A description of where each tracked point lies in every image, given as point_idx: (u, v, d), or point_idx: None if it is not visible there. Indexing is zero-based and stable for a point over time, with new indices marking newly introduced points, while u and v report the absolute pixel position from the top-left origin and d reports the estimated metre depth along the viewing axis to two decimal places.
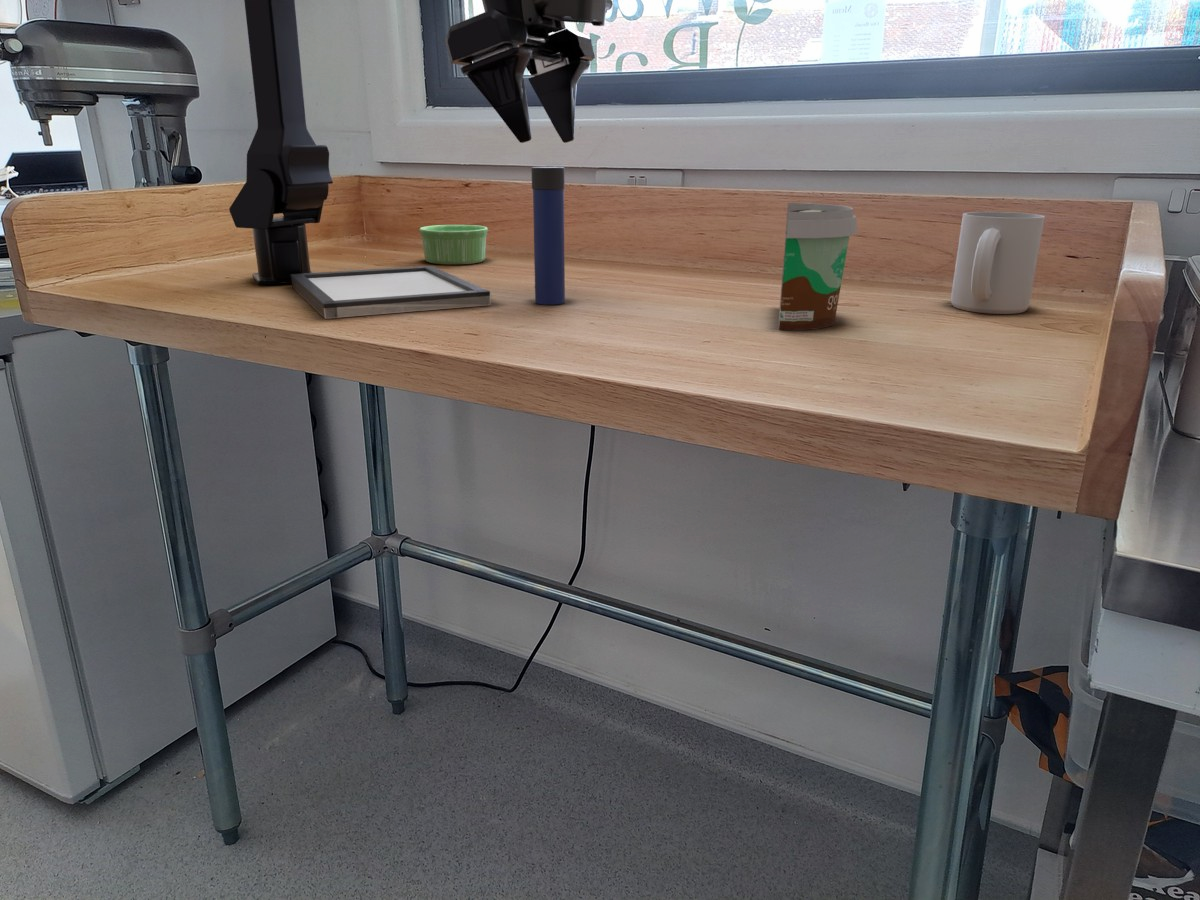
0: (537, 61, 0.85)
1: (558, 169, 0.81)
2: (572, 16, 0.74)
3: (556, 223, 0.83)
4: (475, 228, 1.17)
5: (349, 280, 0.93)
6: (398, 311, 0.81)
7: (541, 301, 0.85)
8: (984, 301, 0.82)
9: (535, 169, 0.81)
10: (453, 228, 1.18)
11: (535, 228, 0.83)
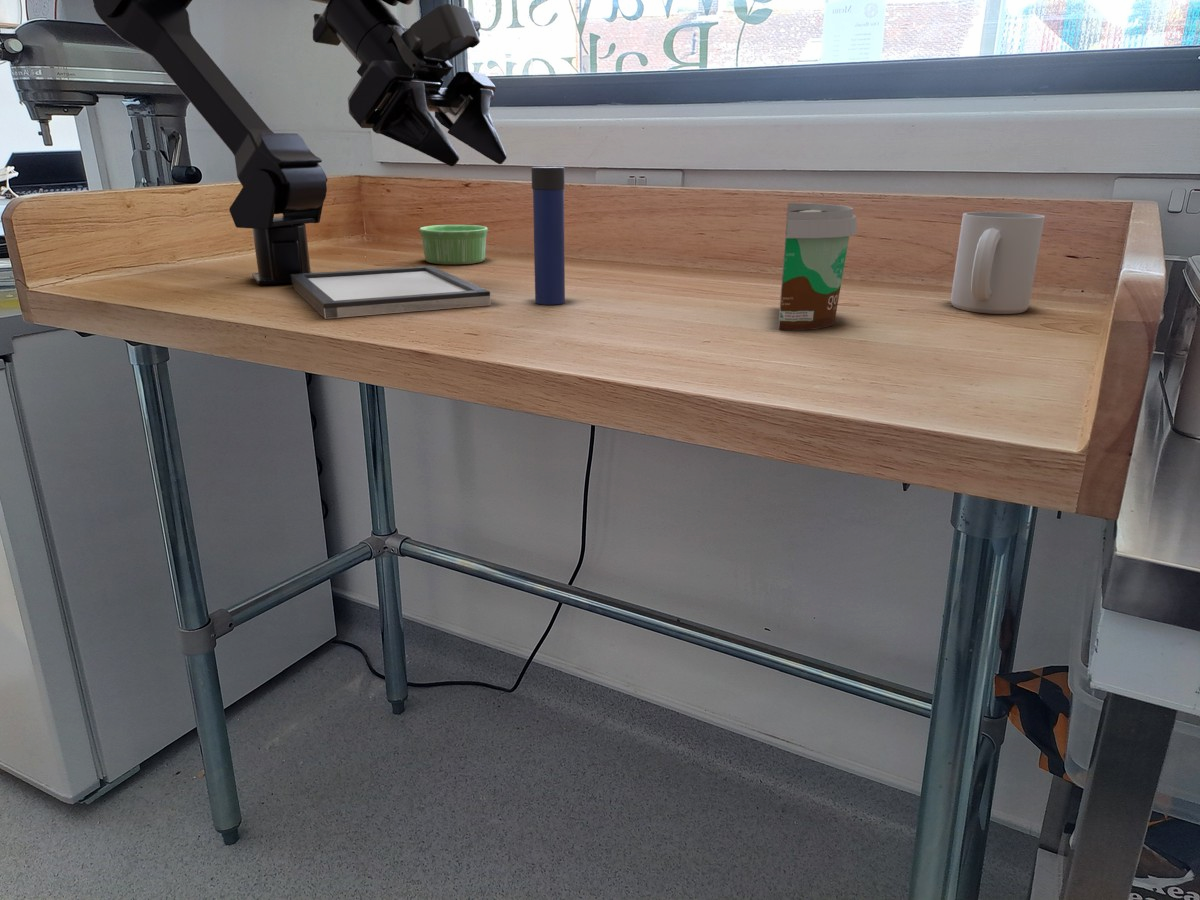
0: (448, 114, 0.90)
1: (558, 169, 0.81)
2: (445, 40, 0.80)
3: (556, 223, 0.83)
4: (475, 228, 1.17)
5: (349, 280, 0.93)
6: (398, 311, 0.81)
7: (541, 301, 0.85)
8: (984, 301, 0.82)
9: (535, 169, 0.81)
10: (453, 228, 1.18)
11: (535, 228, 0.83)
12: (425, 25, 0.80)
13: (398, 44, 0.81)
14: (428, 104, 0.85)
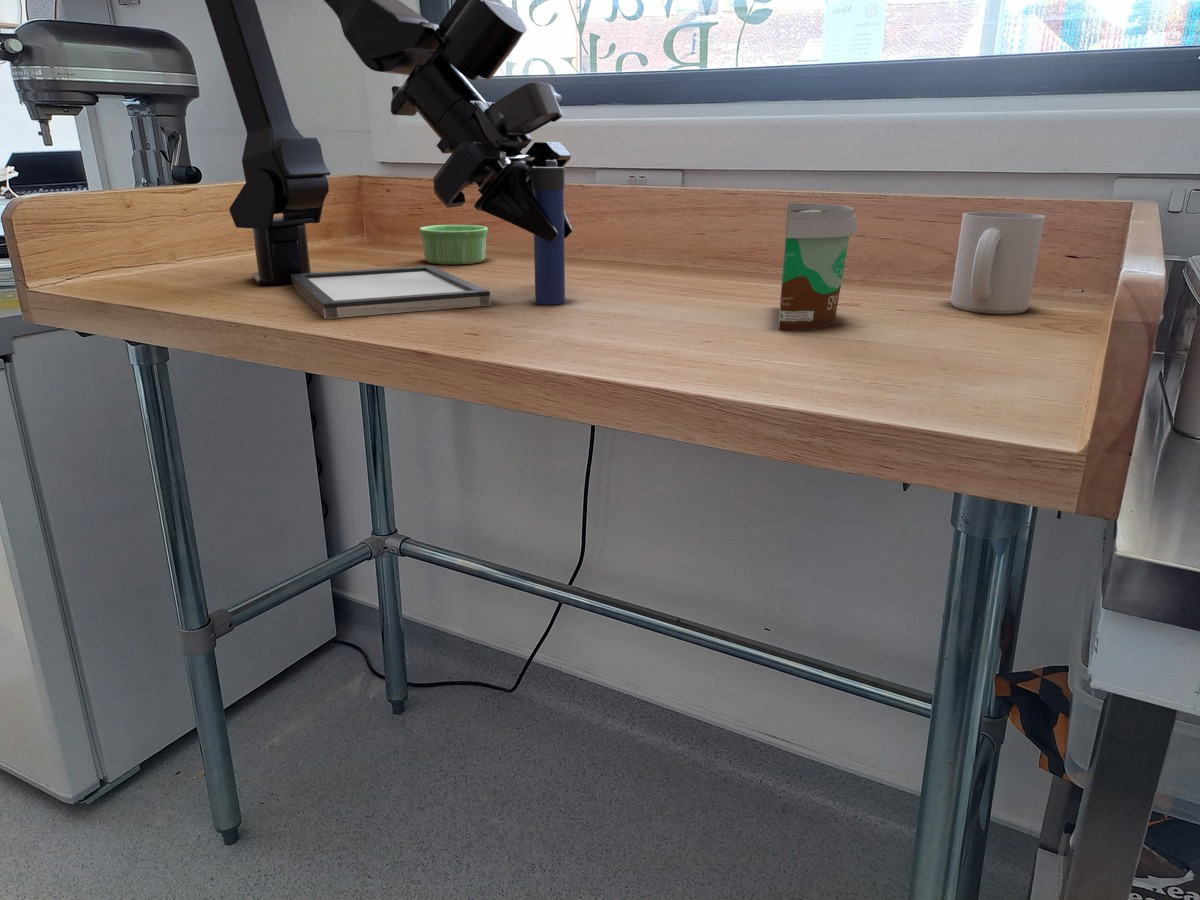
0: None
1: (558, 169, 0.81)
2: (530, 118, 0.79)
3: (556, 223, 0.83)
4: (475, 228, 1.17)
5: (349, 280, 0.93)
6: (398, 311, 0.81)
7: (541, 301, 0.85)
8: (984, 301, 0.82)
9: (535, 169, 0.81)
10: (453, 228, 1.18)
11: None
12: (510, 103, 0.79)
13: (481, 121, 0.80)
14: None
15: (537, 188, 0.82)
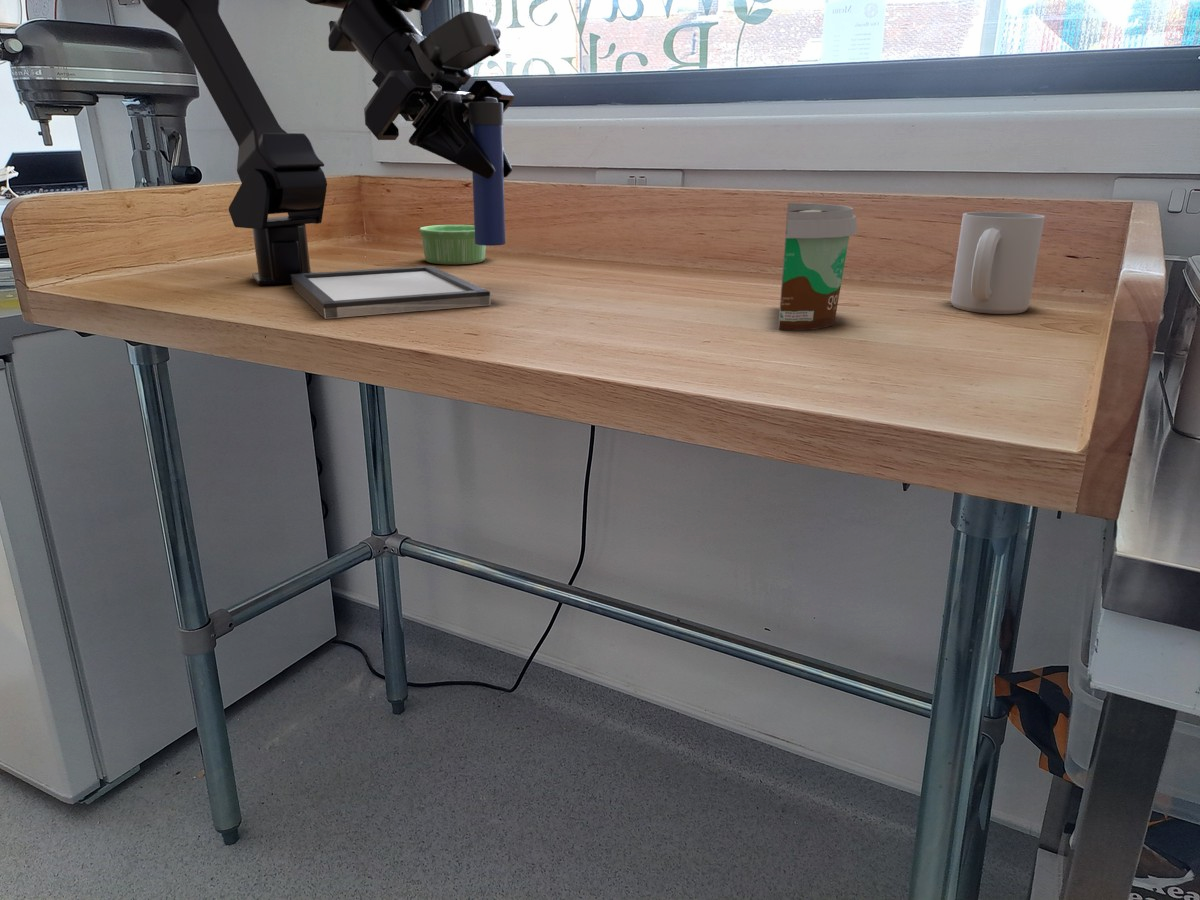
0: None
1: (495, 103, 0.79)
2: (465, 49, 0.77)
3: (494, 160, 0.81)
4: None
5: (349, 280, 0.93)
6: (398, 311, 0.81)
7: (480, 242, 0.83)
8: (984, 301, 0.82)
9: (472, 103, 0.79)
10: (453, 228, 1.18)
11: None
12: (444, 33, 0.77)
13: (416, 53, 0.78)
14: None
15: (474, 123, 0.80)
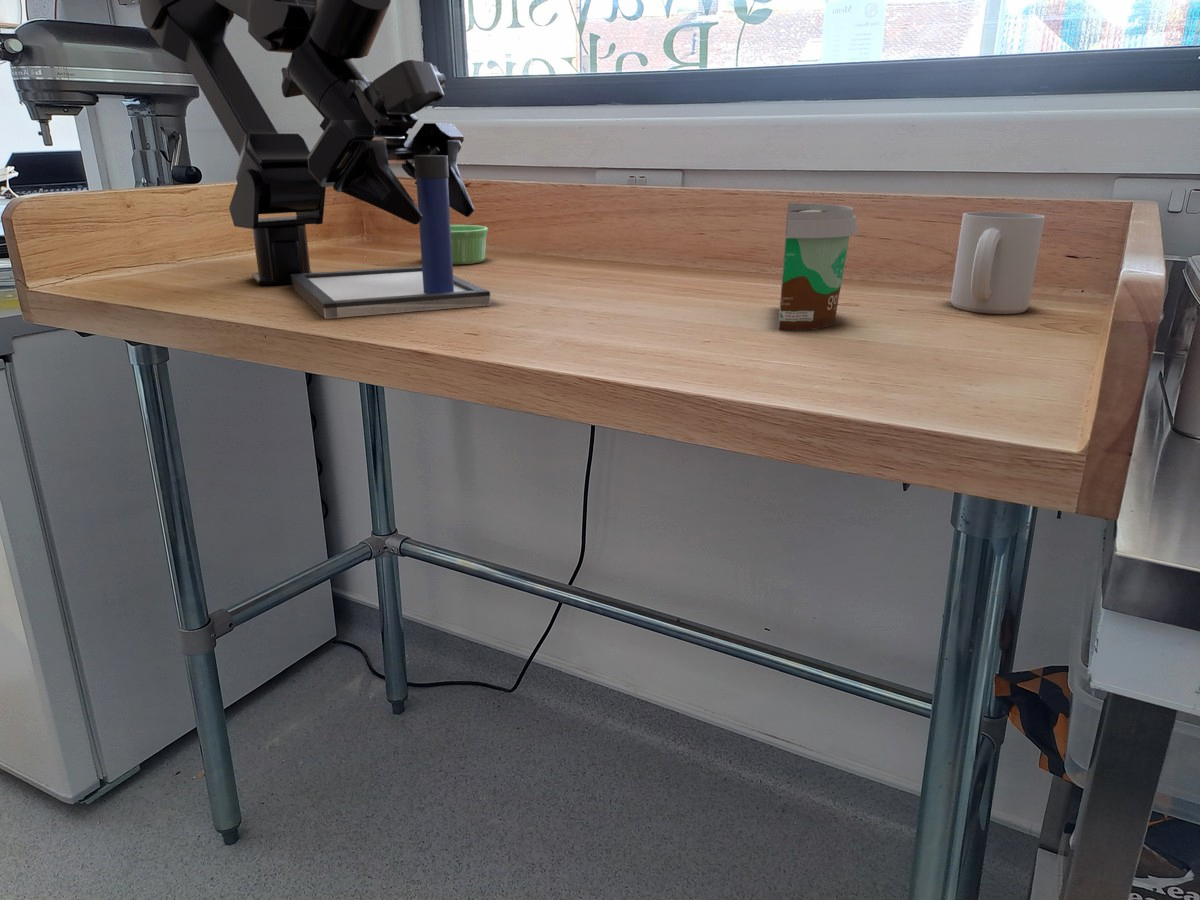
0: None
1: (439, 157, 0.81)
2: (407, 97, 0.78)
3: (440, 211, 0.82)
4: (475, 228, 1.17)
5: (349, 280, 0.93)
6: (398, 311, 0.81)
7: (428, 290, 0.85)
8: (984, 301, 0.82)
9: (416, 157, 0.81)
10: (453, 228, 1.18)
11: None
12: (387, 81, 0.78)
13: (360, 100, 0.80)
14: (392, 158, 0.83)
15: (419, 176, 0.81)
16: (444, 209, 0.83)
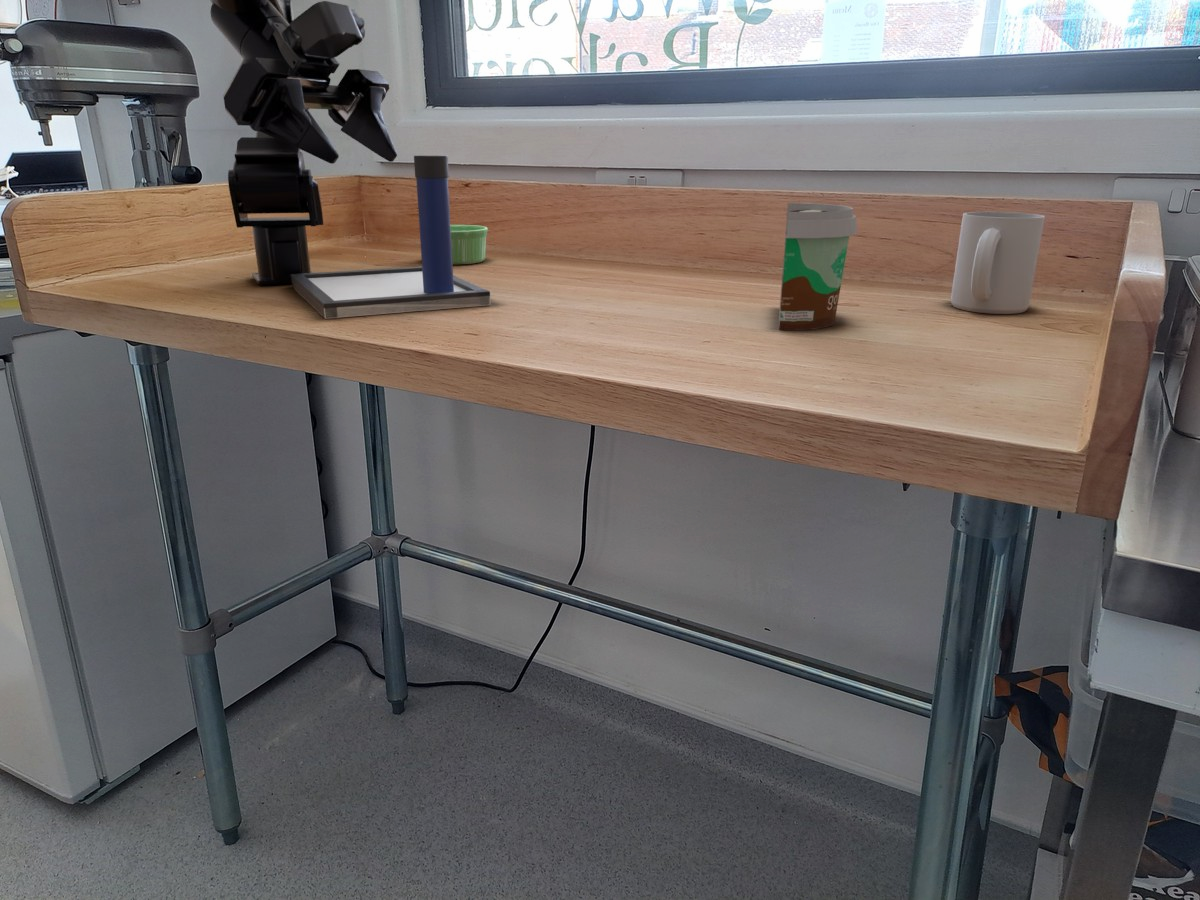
0: (340, 111, 0.90)
1: (439, 157, 0.81)
2: (323, 37, 0.80)
3: (440, 211, 0.82)
4: (475, 228, 1.17)
5: (349, 280, 0.93)
6: (398, 311, 0.81)
7: (428, 290, 0.85)
8: (984, 301, 0.82)
9: (416, 157, 0.81)
10: (453, 228, 1.18)
11: (419, 217, 0.83)
12: (303, 22, 0.80)
13: (278, 41, 0.81)
14: (313, 101, 0.85)
15: (419, 176, 0.81)
16: (444, 209, 0.83)
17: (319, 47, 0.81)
